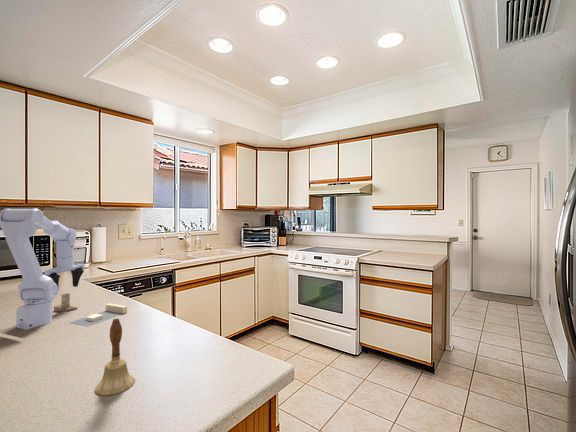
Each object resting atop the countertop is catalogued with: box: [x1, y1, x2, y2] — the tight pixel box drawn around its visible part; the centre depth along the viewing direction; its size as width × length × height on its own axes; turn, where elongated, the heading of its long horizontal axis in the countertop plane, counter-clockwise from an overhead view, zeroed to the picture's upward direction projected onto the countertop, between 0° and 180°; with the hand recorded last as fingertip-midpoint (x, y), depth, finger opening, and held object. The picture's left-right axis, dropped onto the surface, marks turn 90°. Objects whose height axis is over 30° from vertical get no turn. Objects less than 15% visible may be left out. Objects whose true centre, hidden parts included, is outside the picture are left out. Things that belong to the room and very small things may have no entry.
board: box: [69, 303, 128, 328], centre depth 114 cm, size 16×10×4 cm, turn 159°
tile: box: [85, 313, 103, 321], centre depth 112 cm, size 4×4×1 cm
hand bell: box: [94, 318, 136, 396], centre depth 71 cm, size 8×8×16 cm
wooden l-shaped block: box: [53, 292, 78, 313], centre depth 124 cm, size 3×10×8 cm, turn 69°
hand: (65, 288), depth 124 cm, fingers open, 7 cm apart
